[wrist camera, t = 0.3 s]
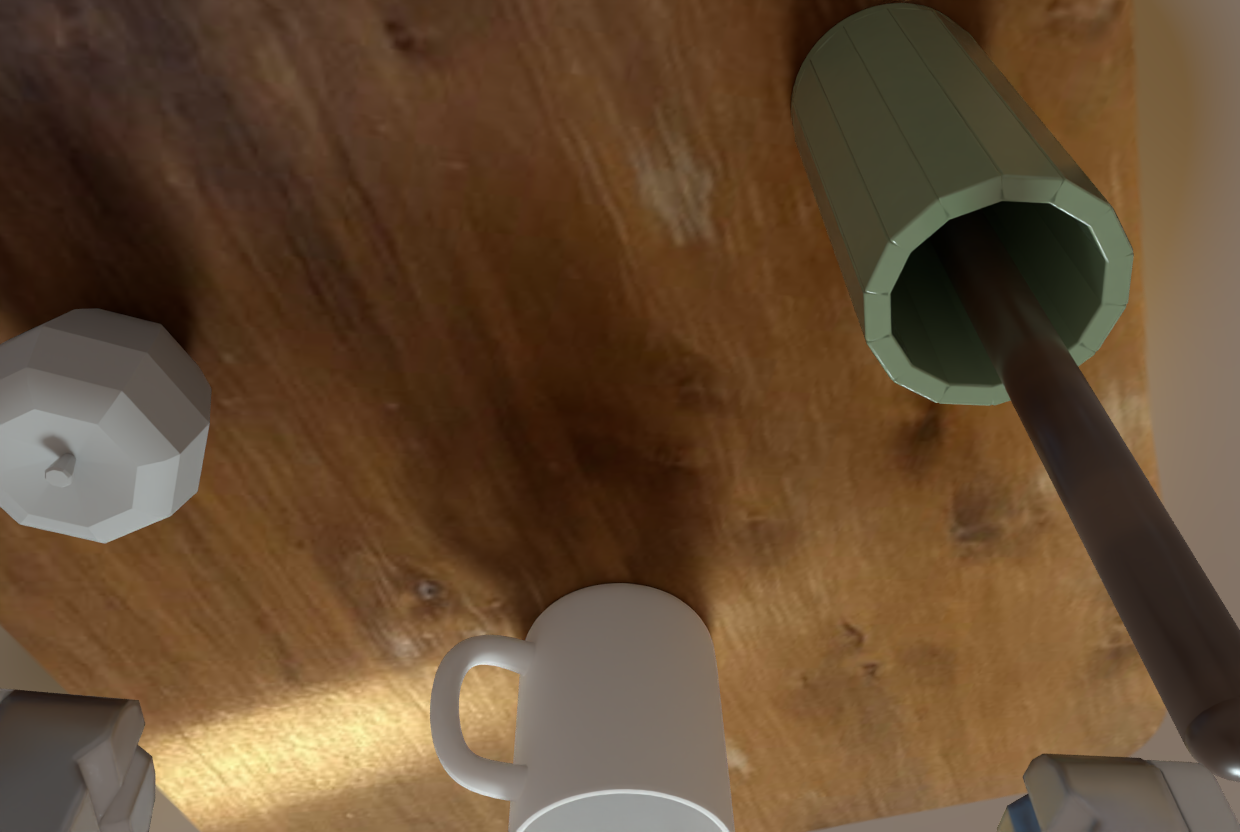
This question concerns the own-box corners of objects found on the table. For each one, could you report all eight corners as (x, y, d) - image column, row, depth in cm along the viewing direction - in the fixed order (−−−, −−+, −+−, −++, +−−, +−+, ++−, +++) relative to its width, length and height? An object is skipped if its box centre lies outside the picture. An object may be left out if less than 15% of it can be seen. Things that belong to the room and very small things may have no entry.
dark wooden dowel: (856, 79, 34) (1197, 732, 14) (902, 61, 33) (1312, 703, 14) (876, 149, 35) (1214, 833, 16) (921, 132, 35) (1319, 808, 16)
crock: (764, 48, 34) (831, 236, 24) (961, -31, 32) (1116, 134, 23) (818, 212, 37) (897, 437, 27) (1000, 146, 36) (1150, 357, 26)
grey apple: (211, 253, 37) (147, 364, 32) (268, 441, 42) (221, 565, 37) (-28, 267, 37) (-131, 379, 32) (56, 453, 42) (-22, 578, 37)
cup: (659, 727, 52) (670, 940, 44) (412, 652, 49) (375, 867, 41) (749, 613, 48) (779, 826, 40) (484, 523, 45) (458, 734, 36)
